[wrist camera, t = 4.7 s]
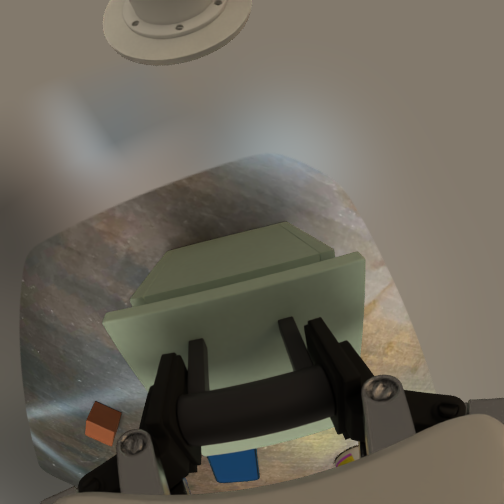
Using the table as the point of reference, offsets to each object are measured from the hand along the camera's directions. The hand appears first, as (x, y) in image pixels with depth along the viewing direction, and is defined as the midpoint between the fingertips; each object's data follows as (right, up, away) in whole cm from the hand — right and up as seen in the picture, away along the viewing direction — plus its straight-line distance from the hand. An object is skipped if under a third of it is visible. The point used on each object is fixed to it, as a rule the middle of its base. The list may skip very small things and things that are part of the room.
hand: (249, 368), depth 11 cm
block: (-20, -18, +19) cm, 33 cm away
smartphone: (-3, -27, +23) cm, 36 cm away
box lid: (+1, -3, +4) cm, 5 cm away
